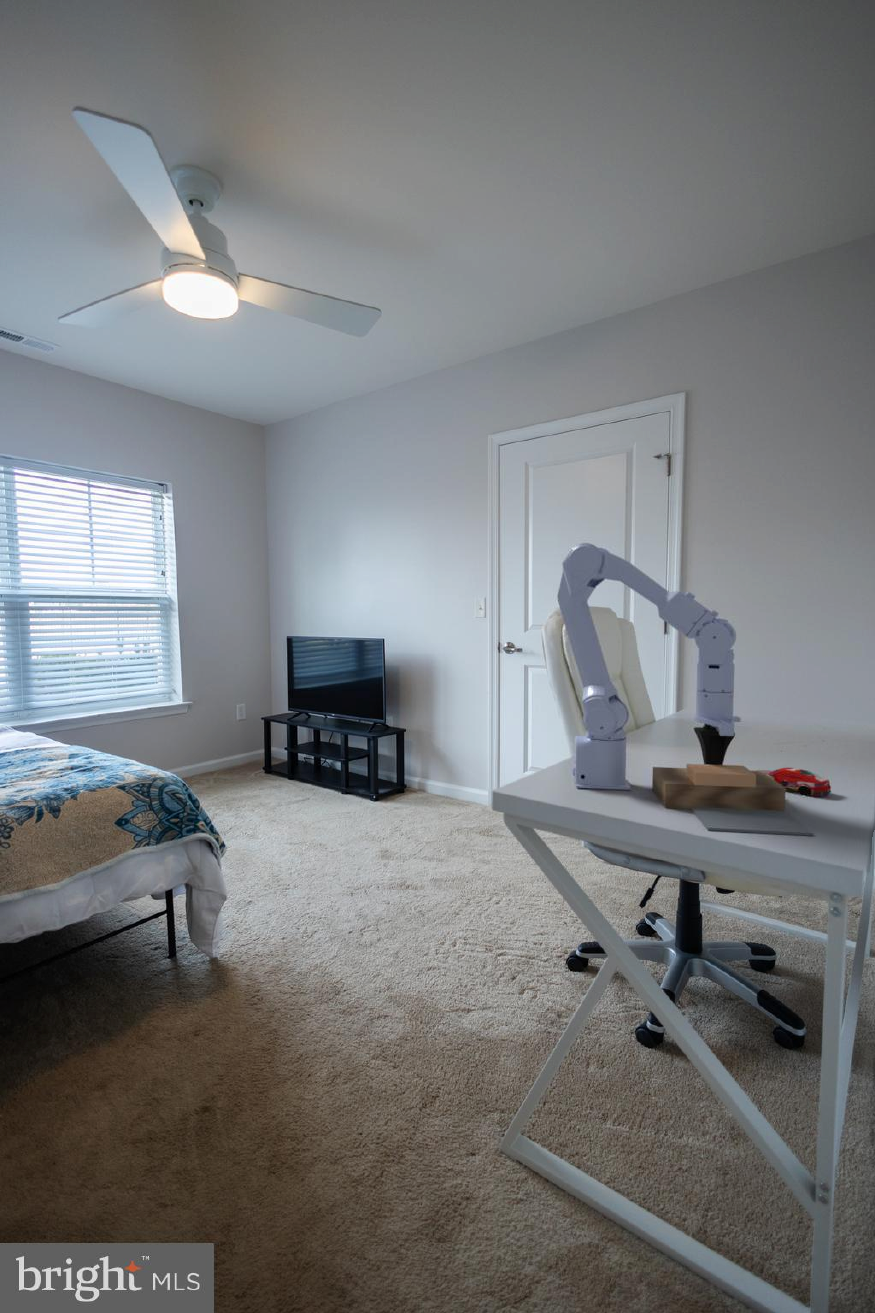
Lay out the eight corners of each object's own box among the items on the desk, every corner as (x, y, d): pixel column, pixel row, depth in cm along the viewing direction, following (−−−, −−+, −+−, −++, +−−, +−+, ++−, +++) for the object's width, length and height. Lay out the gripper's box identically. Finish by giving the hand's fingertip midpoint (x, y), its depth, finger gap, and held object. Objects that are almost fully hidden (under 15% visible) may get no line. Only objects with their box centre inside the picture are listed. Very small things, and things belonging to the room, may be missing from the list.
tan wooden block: (695, 785, 97) (695, 772, 97) (686, 775, 103) (686, 763, 103) (755, 787, 96) (756, 774, 96) (742, 777, 102) (743, 765, 102)
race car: (742, 785, 113) (742, 764, 112) (754, 780, 116) (755, 759, 116) (822, 801, 103) (823, 778, 102) (833, 795, 106) (834, 772, 106)
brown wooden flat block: (664, 807, 99) (665, 783, 98) (652, 789, 109) (652, 767, 109) (784, 813, 96) (785, 788, 95) (759, 793, 106) (760, 770, 106)
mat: (707, 830, 88) (707, 827, 88) (690, 809, 98) (690, 806, 98) (813, 835, 86) (813, 833, 86) (784, 813, 96) (784, 810, 96)
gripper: (755, 696, 95) (753, 782, 96) (726, 686, 109) (724, 761, 110) (707, 695, 96) (705, 780, 97) (685, 685, 110) (683, 759, 111)
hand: (712, 770), depth 103 cm, fingers closed
